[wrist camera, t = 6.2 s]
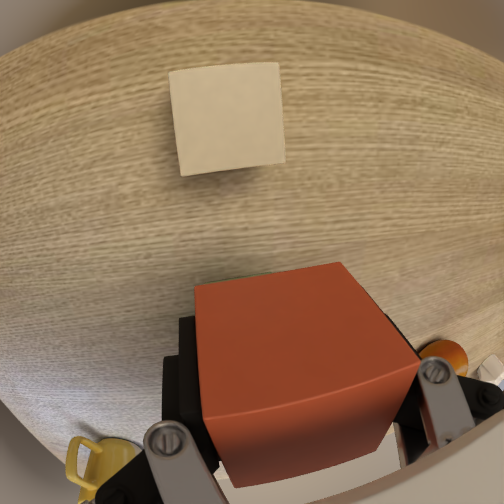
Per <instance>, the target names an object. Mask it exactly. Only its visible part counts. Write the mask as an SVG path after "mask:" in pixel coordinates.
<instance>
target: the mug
mask: <svg viewBox="0 0 504 504" xmlns="http://www.w3.org/2000/svg"><path fill="white" fill-rule="evenodd" d="M80 443H81V444H83V445H84V446H86V447H88V448H89V449H91V452H90V456H89V460H88V463H87V467H86V470H85V474H84V478H83V479H82V478H81V477H79V476H78V474H77V455H78V448H79V445H80ZM141 451H142V450H141V449H140V448H139V447H138V446H137V445H136V444H134V443H132V442H129V441H126V440H122V439H116V438H107V439H103V440H101V441H100V442H98V443H95V442H93V441H91V440H89V439H87V438H85V437H82V436H76V437H73V438H72V439H71V441H70V443H69V447H68V451H67V457H66V476H67V478H68V479H69V480H70V481H72V482H74V483H76V484H78V485H80V486H81V489H80V494H79V499H78V504H80V503H82V502H83V501H85V500H88V501H90V500H92V499H94V498H95V494H96V492H97V490H98V489H99V487H100V486H101V485H102V484H103V483H105V482H106V481H107V480H108V479H110V478H111V477H112V476H113V475H114V474H116V473H117V472H118V471H119V470H120V469H121V468H123V467H124V466H125V465H126V464H127V463H128V462H130V461H131V460H132V459H133V458H134V457H135V456H136V455H138V454H139V453H140V452H141Z"/></svg>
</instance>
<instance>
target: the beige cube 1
mask: <svg viewBox="0 0 504 504" xmlns="http://www.w3.org/2000/svg"><path fill="white" fill-rule="evenodd" d="M168 79H169V89H170V98H171V107H172V115H173V124H174V131H175V139H176V146H177V154H178V161H179V167H180V174H181V177H184V176H191V175H197V174H204V173H210V172H217V171H225V170H232V169H240V168H248V167H257V166H266V165H276V164H285V163H286V155H285V138H284V121H283V107H282V93H281V80H280V68H279V62H259V63H240V64H227V65H216V66H206V67H198V68H190V69H183V70H177V71H171V72H168Z"/></svg>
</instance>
